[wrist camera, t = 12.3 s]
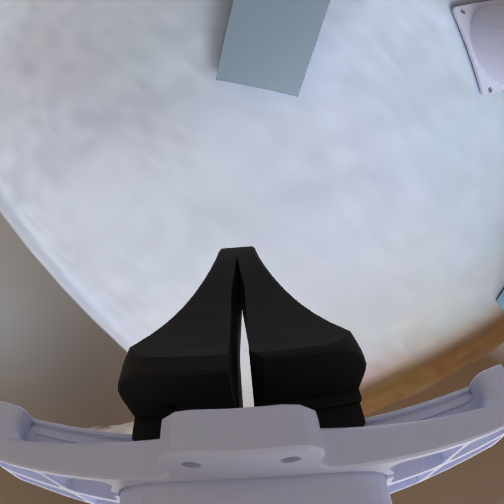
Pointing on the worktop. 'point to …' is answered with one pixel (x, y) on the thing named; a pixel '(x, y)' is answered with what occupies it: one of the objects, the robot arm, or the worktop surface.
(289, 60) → the placed domino
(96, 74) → the worktop surface
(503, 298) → the gum box
